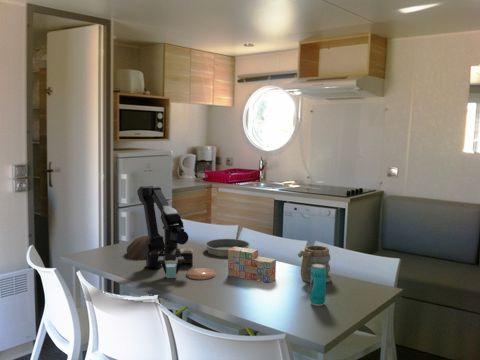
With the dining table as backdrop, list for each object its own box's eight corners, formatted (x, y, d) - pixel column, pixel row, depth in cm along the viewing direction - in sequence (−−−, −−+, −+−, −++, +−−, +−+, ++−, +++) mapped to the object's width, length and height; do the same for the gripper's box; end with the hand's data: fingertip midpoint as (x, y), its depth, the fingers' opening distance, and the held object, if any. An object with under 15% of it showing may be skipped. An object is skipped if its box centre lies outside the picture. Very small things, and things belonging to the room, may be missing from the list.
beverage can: (308, 301, 181) (309, 263, 180) (322, 300, 182) (324, 263, 180) (311, 306, 176) (312, 267, 174) (326, 306, 176) (328, 267, 175)
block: (166, 278, 208) (166, 267, 207) (166, 275, 212) (166, 264, 211) (176, 277, 208) (176, 266, 207) (176, 274, 212) (176, 264, 212)
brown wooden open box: (177, 266, 225) (177, 252, 225) (178, 262, 232) (177, 248, 232) (192, 266, 226) (192, 252, 225) (192, 262, 233) (192, 248, 232)
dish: (181, 276, 210) (181, 273, 210) (197, 269, 222) (197, 266, 222) (205, 281, 204) (205, 278, 204) (220, 273, 215) (220, 270, 215)
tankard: (313, 272, 218) (313, 241, 216) (336, 279, 209) (337, 246, 207) (285, 282, 204) (285, 248, 202) (308, 289, 195) (309, 254, 193)
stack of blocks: (275, 279, 208) (276, 252, 206) (269, 283, 202) (269, 255, 201) (234, 271, 219) (235, 245, 217) (227, 275, 213) (227, 248, 212)
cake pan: (250, 258, 242) (250, 249, 242) (202, 257, 243) (202, 249, 242) (249, 246, 267) (250, 238, 266) (206, 245, 267) (206, 238, 267)
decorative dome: (151, 247, 262) (151, 230, 260) (170, 255, 246) (170, 236, 245) (119, 253, 249) (119, 235, 248) (136, 261, 234) (136, 242, 233)
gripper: (148, 244, 199) (148, 280, 201) (192, 244, 201) (192, 279, 203) (150, 238, 210) (150, 272, 212) (192, 238, 212) (192, 271, 214)
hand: (171, 274), depth 210 cm, fingers closed on block, 4 cm apart
